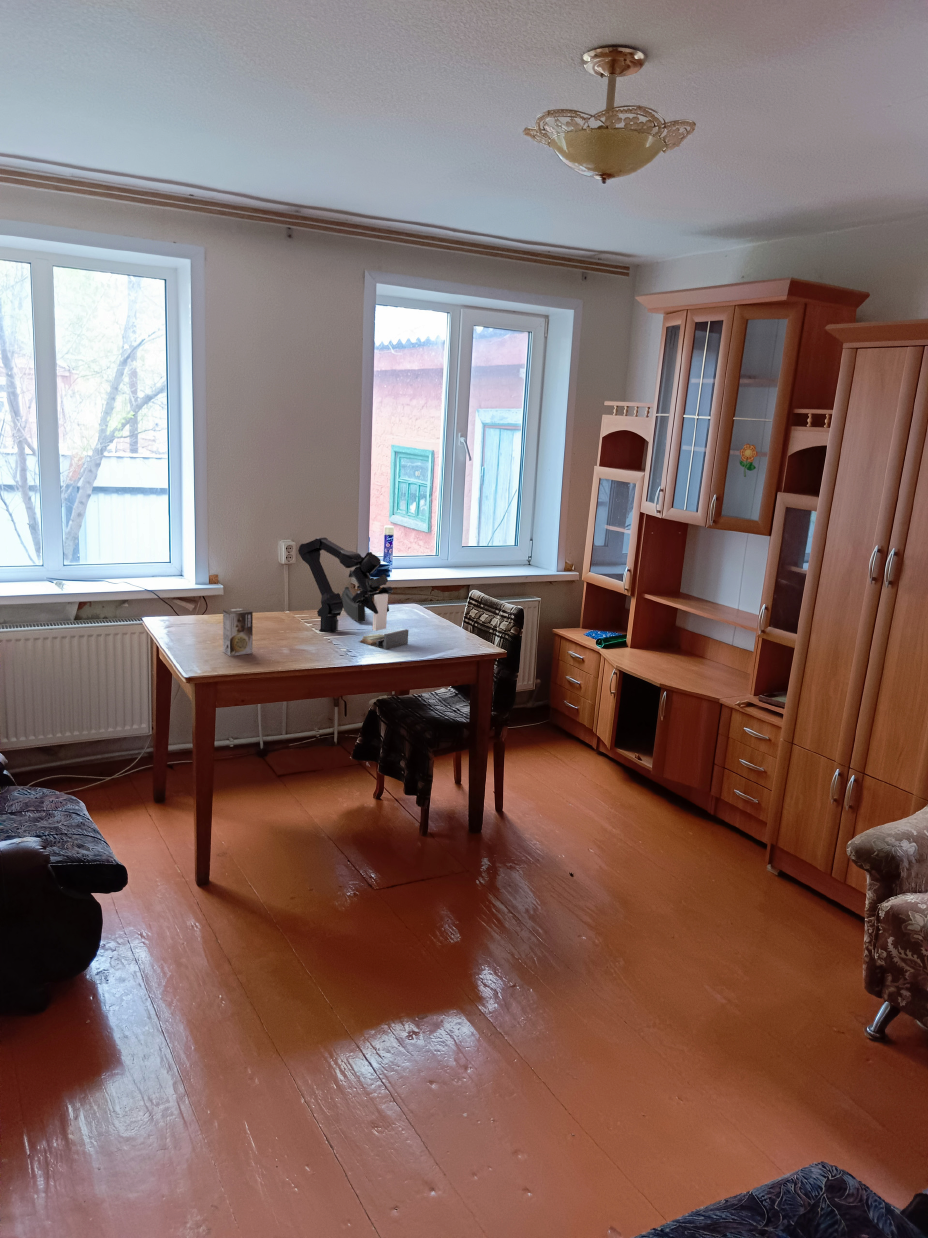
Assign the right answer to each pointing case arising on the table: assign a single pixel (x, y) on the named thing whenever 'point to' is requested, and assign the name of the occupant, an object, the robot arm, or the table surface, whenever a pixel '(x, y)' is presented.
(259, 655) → the table surface
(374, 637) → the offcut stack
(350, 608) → the magazine
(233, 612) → the coffee box
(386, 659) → the table surface
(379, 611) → the tall sheet
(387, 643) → the rack
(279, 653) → the table surface
